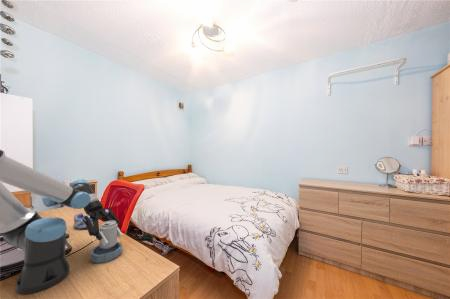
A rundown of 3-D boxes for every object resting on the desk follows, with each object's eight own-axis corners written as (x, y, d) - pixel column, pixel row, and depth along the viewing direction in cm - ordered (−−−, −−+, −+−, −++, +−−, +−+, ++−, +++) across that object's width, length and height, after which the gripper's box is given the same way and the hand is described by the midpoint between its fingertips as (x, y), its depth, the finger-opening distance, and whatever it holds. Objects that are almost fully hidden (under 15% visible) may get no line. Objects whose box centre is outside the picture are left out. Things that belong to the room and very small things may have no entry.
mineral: (70, 213, 118) (88, 209, 126) (70, 226, 119) (88, 221, 127) (77, 221, 109) (96, 216, 118) (77, 235, 110) (96, 229, 119)
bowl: (115, 261, 83) (116, 254, 83) (84, 264, 80) (84, 257, 80) (125, 246, 96) (125, 240, 96) (98, 249, 93) (98, 242, 93)
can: (96, 247, 87) (96, 223, 87) (111, 240, 94) (112, 218, 94) (104, 251, 84) (105, 226, 84) (119, 244, 90) (120, 221, 90)
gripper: (105, 203, 103) (126, 235, 98) (65, 215, 84) (88, 255, 79) (112, 195, 102) (133, 227, 97) (73, 205, 82) (97, 246, 77)
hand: (113, 240), depth 88 cm, fingers closed on can, 7 cm apart
